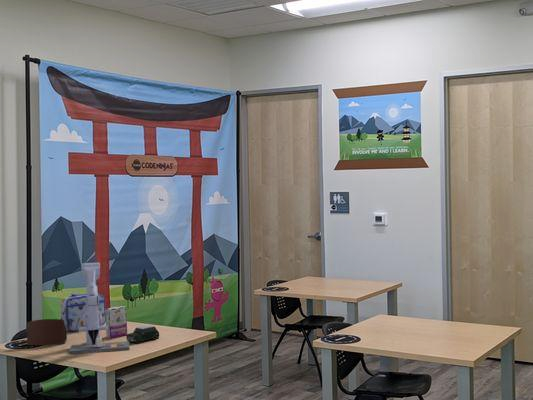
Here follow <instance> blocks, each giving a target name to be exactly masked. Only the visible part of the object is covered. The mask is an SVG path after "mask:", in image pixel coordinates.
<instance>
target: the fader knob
mask: <svg viewBox="0 0 533 400" xmlns="http://www.w3.org/2000/svg"><path fill="white" fill-rule="evenodd" d="M102 343H103V337H102V336H100V337H99V338H97V347H102Z"/></svg>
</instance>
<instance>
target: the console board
mask: <svg viewBox="0 0 533 400" xmlns="http://www.w3.org/2000/svg"><path fill="white" fill-rule="evenodd" d="M119 351H130V342H129V341H127V340H126V341H115V342H114V341H113V342H102V347H97V344H95V345H93V344H86V343H85V344H73V345H71V346H70V347H69V351H68V352H69V355H77V354H90V353H91V354H92V353H101V352H103V353H104V352H119Z"/></svg>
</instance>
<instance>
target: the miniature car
mask: <svg viewBox="0 0 533 400" xmlns="http://www.w3.org/2000/svg"><path fill="white" fill-rule="evenodd" d="M125 336H126V338H125V340H126V342H127V341H129V343H132V342H135V344H137V345H138V344H141V342H143V341H146V340H151V339H154V340H155V339H158V340H159V338H160V336H161V335H160V332H159V330H158V329H157V328H156V326H154V325H151V324H145V325H139V326H136V327H135V329H134V331H133V332H131V333H129V332H128V333H127V335H125Z"/></svg>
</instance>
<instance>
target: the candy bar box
mask: <svg viewBox="0 0 533 400" xmlns="http://www.w3.org/2000/svg"><path fill="white" fill-rule="evenodd" d="M105 318H106V322H105V326H108V330H105V334H106V338H108V339H113V338H119V337H123V336H127V334H128V321H127V307H126V306H125V305H121V306H113V307H109V308H106V309H105Z"/></svg>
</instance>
